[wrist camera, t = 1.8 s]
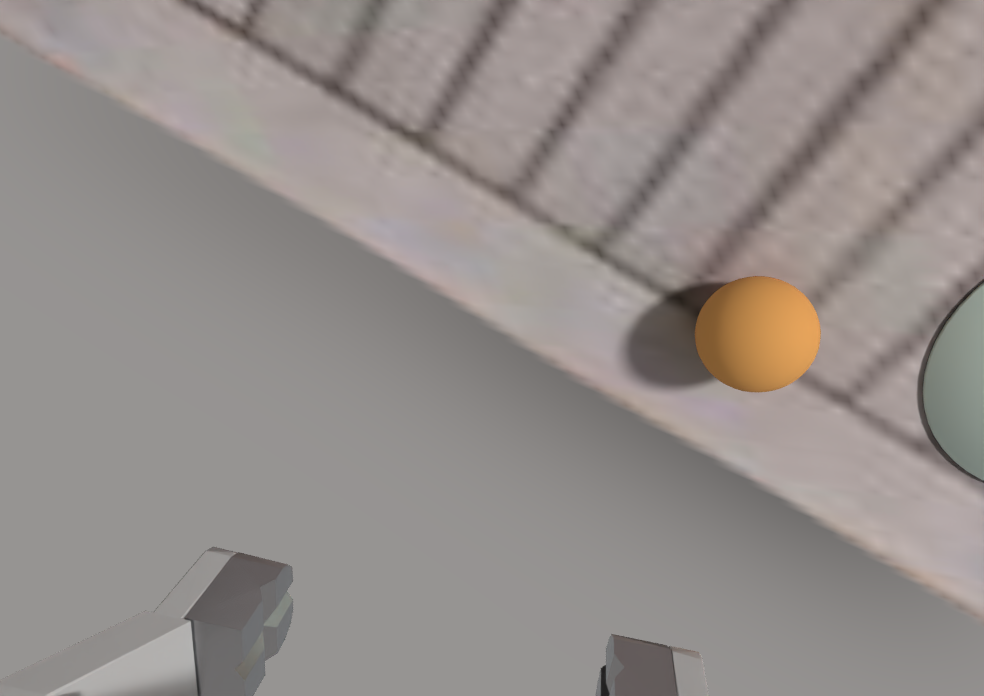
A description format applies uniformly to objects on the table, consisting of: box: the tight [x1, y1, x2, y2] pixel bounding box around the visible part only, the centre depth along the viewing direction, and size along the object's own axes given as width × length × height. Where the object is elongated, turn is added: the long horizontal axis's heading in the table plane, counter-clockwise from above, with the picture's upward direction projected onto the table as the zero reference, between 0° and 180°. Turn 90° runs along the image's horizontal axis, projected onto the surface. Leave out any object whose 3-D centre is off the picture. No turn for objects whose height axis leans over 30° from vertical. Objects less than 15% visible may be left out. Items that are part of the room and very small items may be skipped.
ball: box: [695, 276, 821, 392], centre depth 27 cm, size 5×5×5 cm
